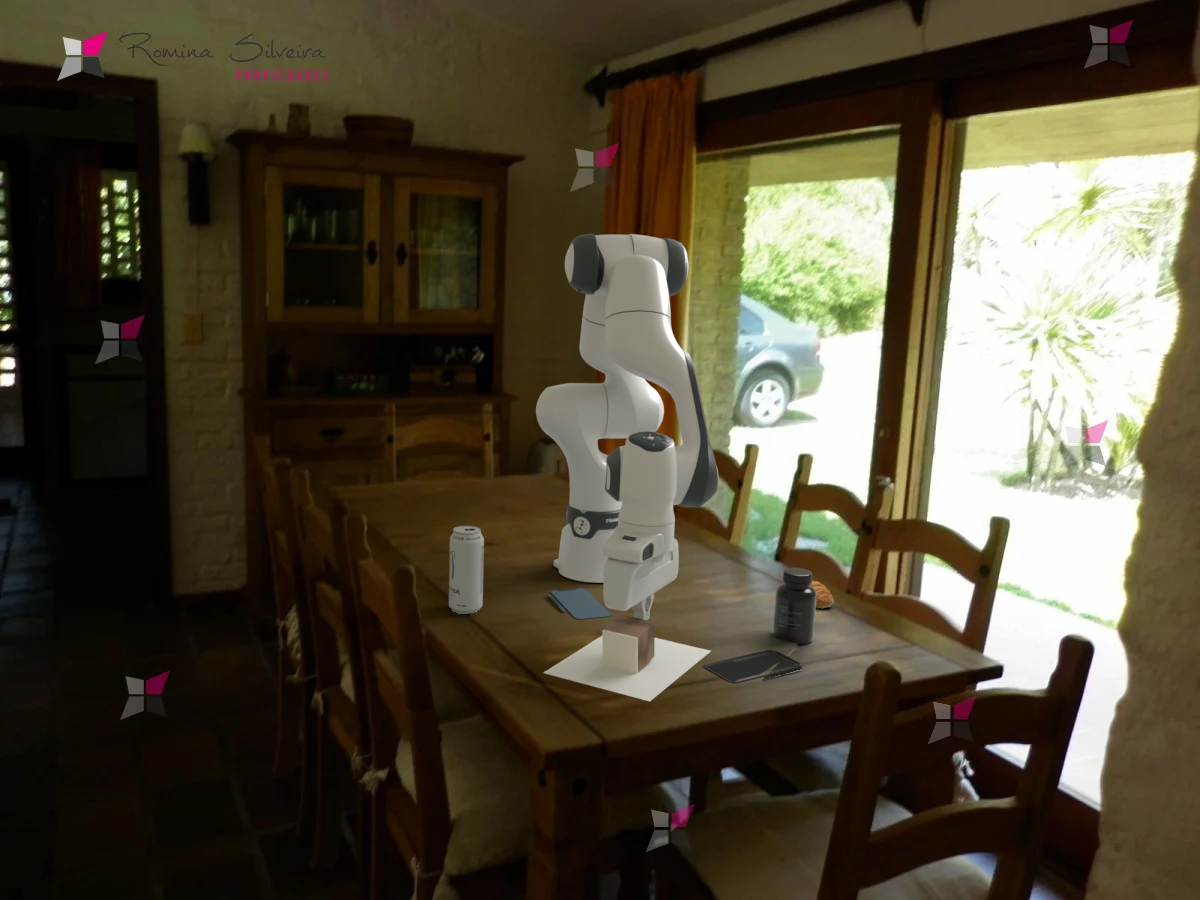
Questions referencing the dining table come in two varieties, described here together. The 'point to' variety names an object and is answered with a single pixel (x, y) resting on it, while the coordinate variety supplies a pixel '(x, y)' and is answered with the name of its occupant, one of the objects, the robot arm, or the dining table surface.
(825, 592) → the pastry
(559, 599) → the smartphone
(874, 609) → the dining table surface
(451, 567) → the energy drink can
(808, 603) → the supplement bottle
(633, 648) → the walnut cube
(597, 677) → the white mat
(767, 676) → the phone
